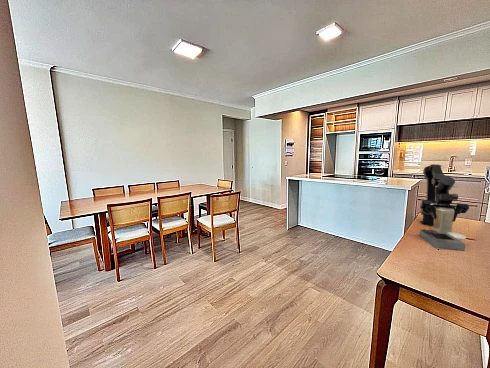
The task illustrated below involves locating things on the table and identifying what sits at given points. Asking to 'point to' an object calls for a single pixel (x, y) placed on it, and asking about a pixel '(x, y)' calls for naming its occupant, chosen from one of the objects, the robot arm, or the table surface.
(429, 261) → the table surface
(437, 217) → the skincare box
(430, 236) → the socket block
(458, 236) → the coaster
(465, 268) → the table surface
